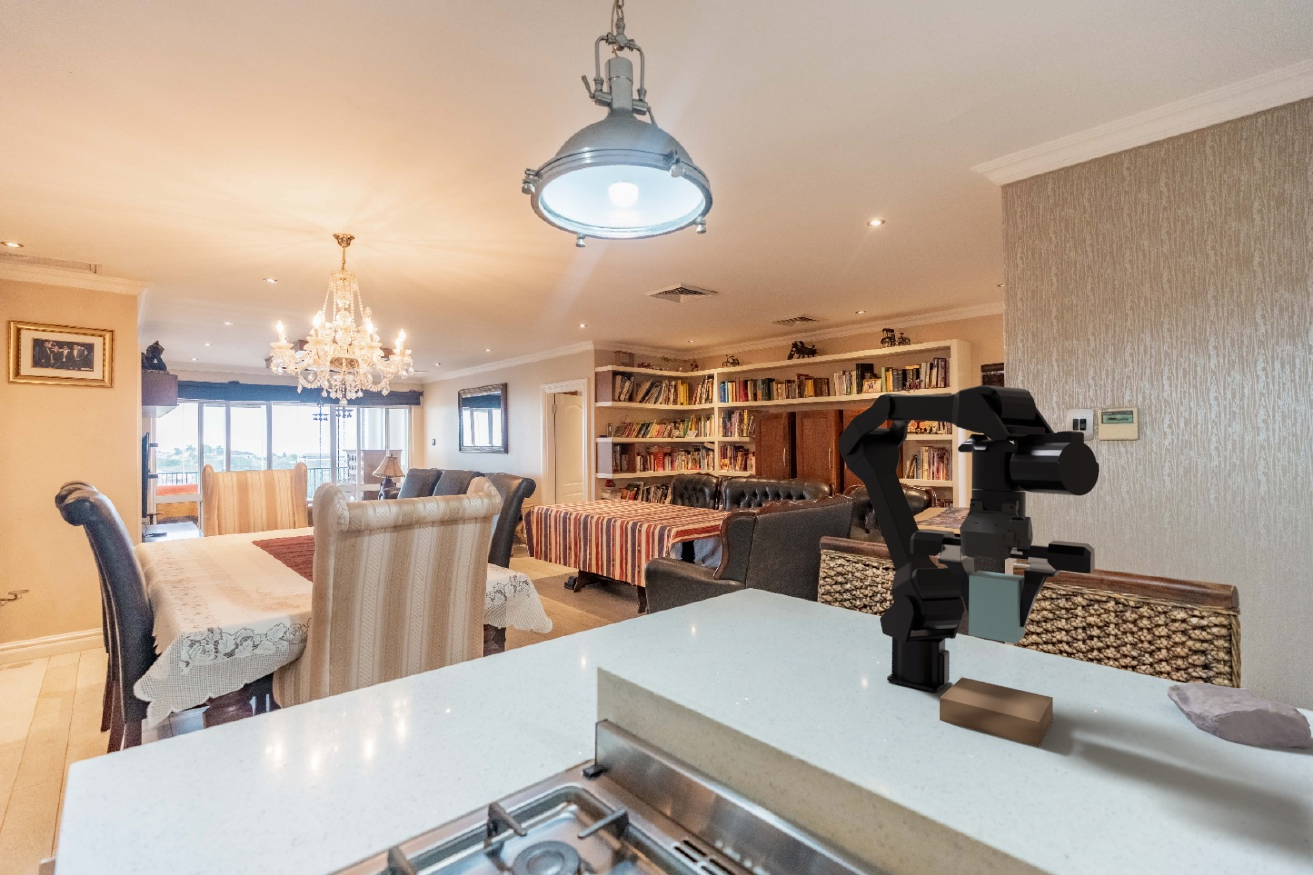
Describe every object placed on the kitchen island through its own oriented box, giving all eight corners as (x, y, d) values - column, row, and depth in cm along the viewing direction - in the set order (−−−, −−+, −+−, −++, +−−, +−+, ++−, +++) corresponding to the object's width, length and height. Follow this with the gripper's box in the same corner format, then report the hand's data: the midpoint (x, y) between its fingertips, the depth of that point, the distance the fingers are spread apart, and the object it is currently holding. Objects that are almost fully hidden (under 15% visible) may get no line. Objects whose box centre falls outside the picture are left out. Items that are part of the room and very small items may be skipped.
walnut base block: (939, 723, 73) (939, 697, 73) (961, 700, 80) (961, 677, 80) (1038, 750, 66) (1038, 721, 66) (1052, 722, 74) (1052, 697, 74)
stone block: (1222, 760, 69) (1326, 751, 67) (1211, 715, 69) (1313, 705, 68) (1157, 721, 80) (1244, 713, 79) (1148, 683, 81) (1234, 674, 79)
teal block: (968, 634, 73) (969, 575, 74) (978, 627, 77) (979, 570, 78) (1016, 643, 70) (1017, 581, 71) (1024, 635, 74) (1025, 576, 74)
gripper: (896, 487, 74) (894, 619, 74) (1085, 497, 62) (1084, 654, 62) (924, 486, 83) (922, 604, 82) (1095, 494, 71) (1094, 632, 70)
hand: (996, 622), depth 74 cm, fingers closed on teal block, 5 cm apart
